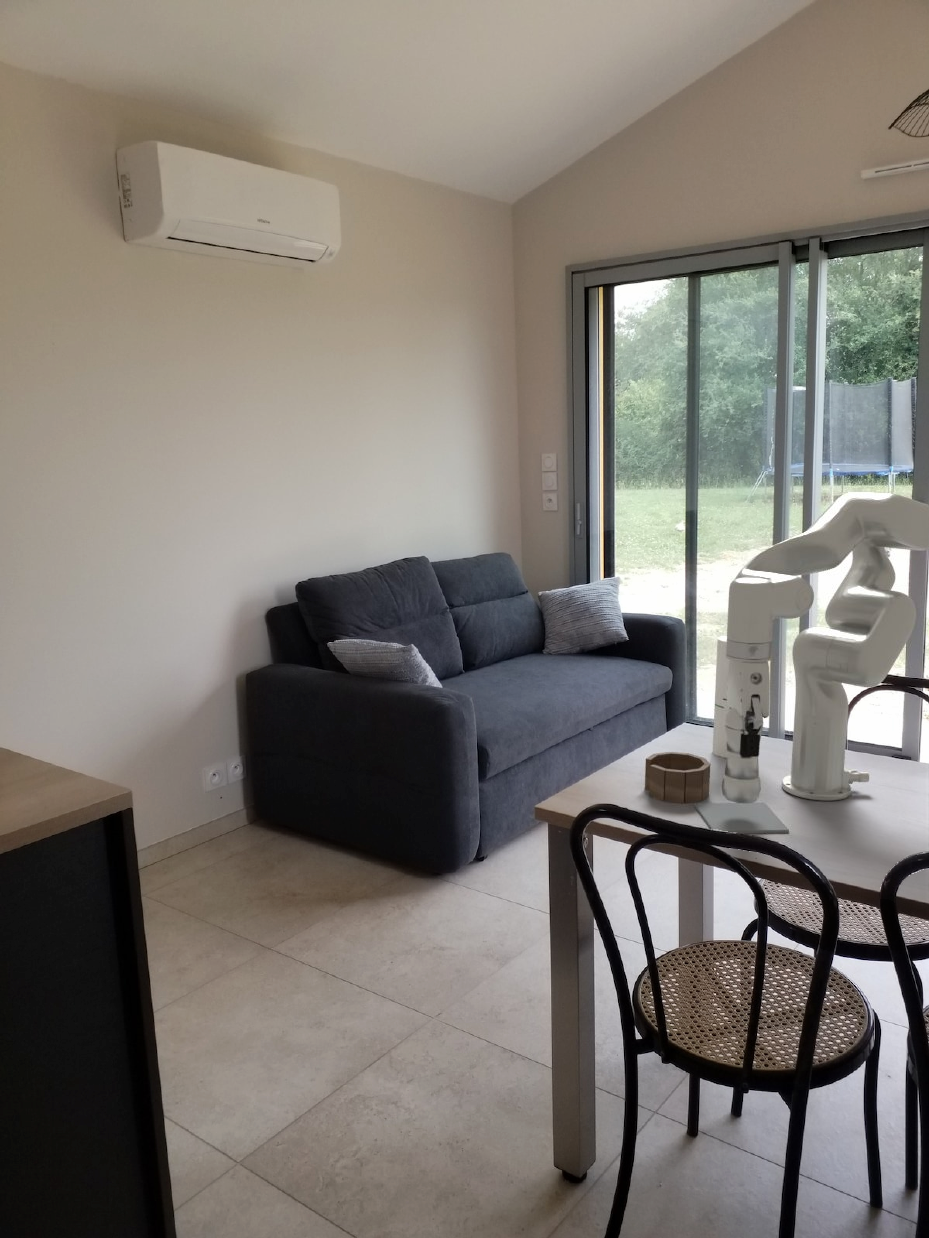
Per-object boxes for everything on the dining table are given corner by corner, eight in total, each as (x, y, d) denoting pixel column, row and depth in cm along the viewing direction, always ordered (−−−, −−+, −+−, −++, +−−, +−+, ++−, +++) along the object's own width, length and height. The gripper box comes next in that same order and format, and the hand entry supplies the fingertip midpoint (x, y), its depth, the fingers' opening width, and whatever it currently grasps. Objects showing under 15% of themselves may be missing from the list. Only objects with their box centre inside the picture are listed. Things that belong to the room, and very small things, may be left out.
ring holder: (698, 780, 198) (699, 751, 197) (715, 802, 186) (716, 771, 185) (640, 781, 198) (641, 752, 197) (653, 803, 186) (654, 772, 185)
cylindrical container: (740, 760, 210) (746, 643, 206) (707, 754, 214) (712, 640, 210) (751, 751, 216) (757, 638, 212) (719, 746, 220) (724, 634, 215)
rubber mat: (764, 804, 185) (764, 802, 185) (788, 832, 172) (789, 829, 172) (694, 805, 185) (694, 803, 185) (713, 833, 172) (713, 830, 172)
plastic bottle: (761, 809, 174) (767, 697, 170) (721, 806, 175) (726, 695, 172) (758, 796, 180) (764, 688, 177) (719, 793, 182) (725, 686, 178)
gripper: (787, 660, 164) (781, 765, 168) (754, 639, 181) (749, 735, 185) (742, 661, 164) (736, 766, 167) (713, 640, 181) (708, 735, 184)
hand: (743, 749), depth 176 cm, fingers closed on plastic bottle, 6 cm apart
